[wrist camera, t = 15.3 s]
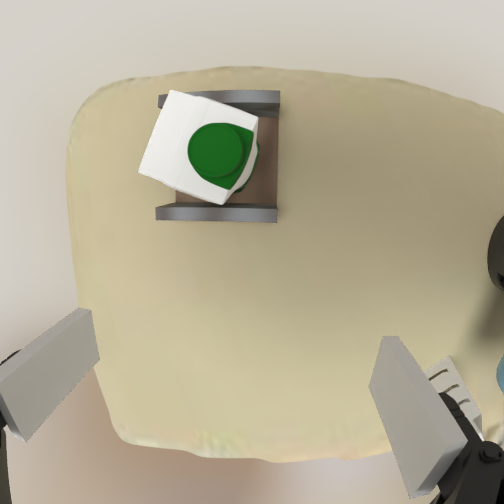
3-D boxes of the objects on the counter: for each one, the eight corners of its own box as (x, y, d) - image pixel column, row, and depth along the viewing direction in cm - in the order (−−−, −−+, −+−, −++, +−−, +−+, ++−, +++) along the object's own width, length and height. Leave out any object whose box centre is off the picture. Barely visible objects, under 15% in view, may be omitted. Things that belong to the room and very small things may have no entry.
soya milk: (244, 200, 41) (221, 218, 22) (184, 177, 41) (116, 176, 21) (269, 141, 39) (268, 105, 20) (207, 119, 39) (157, 72, 19)
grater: (413, 413, 50) (447, 481, 30) (402, 383, 48) (443, 457, 28) (455, 387, 48) (498, 447, 28) (448, 355, 46) (501, 418, 27)
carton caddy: (278, 102, 39) (280, 82, 30) (275, 221, 43) (276, 231, 34) (180, 104, 39) (159, 87, 31) (177, 219, 43) (155, 228, 34)
